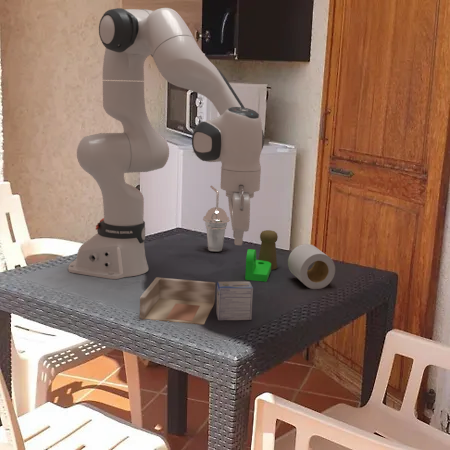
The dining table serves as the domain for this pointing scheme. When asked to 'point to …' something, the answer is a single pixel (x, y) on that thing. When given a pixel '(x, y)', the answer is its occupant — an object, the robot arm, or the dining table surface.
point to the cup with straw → (215, 226)
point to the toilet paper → (318, 273)
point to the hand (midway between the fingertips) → (237, 241)
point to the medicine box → (234, 300)
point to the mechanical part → (256, 267)
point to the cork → (268, 247)
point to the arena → (178, 301)
